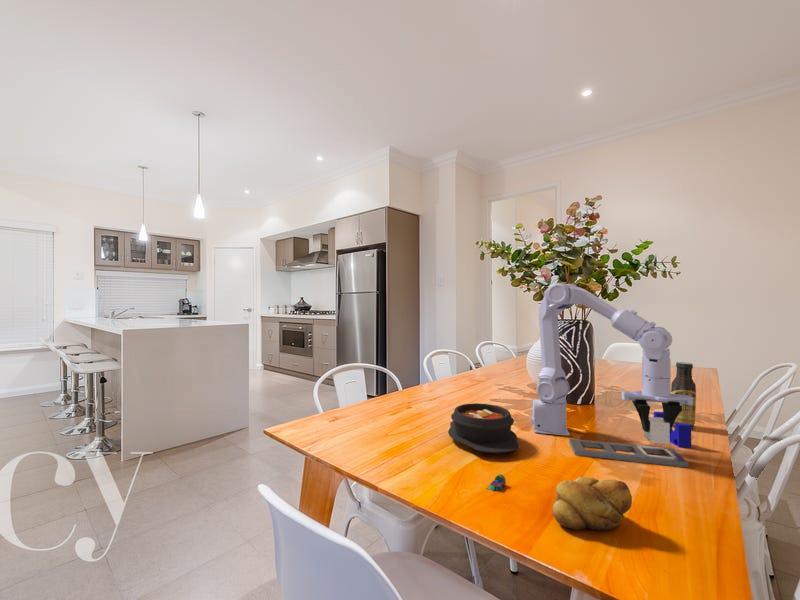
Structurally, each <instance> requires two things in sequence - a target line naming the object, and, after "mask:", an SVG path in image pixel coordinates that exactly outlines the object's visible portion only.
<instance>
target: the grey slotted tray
mask: <svg viewBox="0 0 800 600" xmlns="http://www.w3.org/2000/svg"><path fill="white" fill-rule="evenodd" d="M568 439H569V440H568V443H569V446H570V448H571V450H572V452H573V454H574V456H582V457H588V458H596V459H597V458H598V459H608V460H616V461H623V462H624V461H626V462H635V463H642V464H643V463H644V464H650V463H651V464H653V465H661V466H670V467H679V468H687V469H688V468H689V462H688V461H687V460H686V459H685V458H684V457H682V456H681V455H680V454H679V453H678V452H677V451H676V450H675V449H673V448H668V447H659V446H648V445H637V444H627V443H626V444H625V443H616V442H605V441H597V440H587V439H577V438H568ZM584 447H586V449H585V448H584ZM587 448H593V449H587ZM595 448H596V449H602V450H596V449H595ZM616 451H625V452H632V453H633V454H632V453H623V452H616ZM653 454H654V455H653Z"/></svg>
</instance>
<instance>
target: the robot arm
mask: <svg viewBox="0 0 800 600" xmlns="http://www.w3.org/2000/svg"><path fill="white" fill-rule="evenodd" d="M543 294H544V295H543V299H542V301H541V303H540V305H539V307H538V326H539V338H540V354H541V355H540V356H541V366H542V368H541V370H540V372H539V374H538V382H537V384H536V387H535V390H536V395H537V396H538V397H539V398H538V399H532V418H531V424H532V427H533V431H534V433H536V434H549V435H557V436H567V437H570V436H571V435H570V434H571V433H570V432H569V430H568V428H567V399H566V396H568V394H569V392H570V390H571V388H570V384H569V381H568V380H567V377H566V373H565V371H564V369H563V368H562V356H561V345H560V344H561V342H560V333H559V332H560V329H559V317H558V316H559V315H560V314H561V313H562V312H563V311H564V310H565V309H567V308H569V307H571V306H574V305H579V306H584V307H587V308H589V310H592V311H594V312H596V313H597V314H599V315H601V316H603V317H604V318H606V319H607V320H610V322H611V325H612V327H613V328H614V329H615V330H617V331H618V332H620V333H622V334H623V335H625V336H627V337H628V338H630V339H631V340H633V341H635V342H638V343H639V346H640V347H641V348H642V358H641V380H642V381H641V390H640V391H639V390H638V391H635V390H633V391H632V390H631V391H627V390H626V391H625V390H622V391H621V399H622V400H623V401H624V402H629V401H631V402H632V403H633V406H634V408H635V410H636V412H637V414H638V416H639V417H638V418H639V421H640V423H641V428H642V430H643V432H644V431H645V432H649V417H650V412H651V411H650V410H651V406H650V405H649V404H648V403H649V402H650V403H661V406H662V412H663V415H664V419H665V420H666V421H667V422H669V423H670V434H671V430H673V427H674V426H673V424H674V422H675V420H676V418H677V416H678V415H679V413H680V412H681V411H682V406H680V404H687V405H693V397H691V396H689V395H679V394H671V384H672V381H671V375H672V374H671V373H672V372H671V371H672V370H671V358H670V357H671V356H670V355H671V352H670V348H669V347H670V346H671V345H672V343H673V336H672V334H671V333H670V332H669V330H667V329H666V328H665V327H662V326H656V325H657V323H655V322H654V321H648V320H646V319H644V318H642V316H639V314H638V312H637V311H635V310H634V309H631V310H629V309H626V308H624V309H621V310H619V309H617V308H615V307H614V306H613V305H611V304H609V303H608V302H606V301H605V300H603V299H601V298H599V297H598V296H596V295H595V294H593V293H592V292H590V291H588V290H586V289H584V288H582V287H578V286H577V285H576V284H574V283H573V284H572V283H562V282H555V283H552V284H551V285H550V286H549V287H547V289H546V290H544V293H543ZM637 314H638V315H637Z"/></svg>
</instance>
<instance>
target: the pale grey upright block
mask: <svg viewBox="0 0 800 600" xmlns="http://www.w3.org/2000/svg"><path fill="white" fill-rule="evenodd" d="M643 436H644V438H646V439H647V440H648V441H649V442H650V443H657V444H664V445H666V444H667V445H670V443H671V442H670V423H669V422H667V421H666V420H665V419H663V418H658V417H654V416H649V432H645V431H644V430H643Z"/></svg>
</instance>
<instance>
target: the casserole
mask: <svg viewBox="0 0 800 600" xmlns="http://www.w3.org/2000/svg"><path fill="white" fill-rule="evenodd" d="M450 419H451V420H452V421H451V422H450V423H449V426H450V427H449V428H448V431H447V433H448V435H449V437H450V438H451V439H452V440H454V441H456V442H458V443H461V444H463V445H465V446H468V447H470V448H472V449H473V450H475V451H477V452H480V453H487V454H503V453H504V454H505V453H510V452H516V451H517V450H519V449H520V445H519V442H518V436H517V434H516V433H515V432H514V431H513V430H511V429H512V426H513V425H514V423H515V420H514V418H512V415H511V412H510V411H509V410H508V409H506V408H504V407H502V406H499V405H494V404H488V403H464V404H460V405H457V406H456V407H455V408H454V410H453V413H452V414H451V415H450Z"/></svg>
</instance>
